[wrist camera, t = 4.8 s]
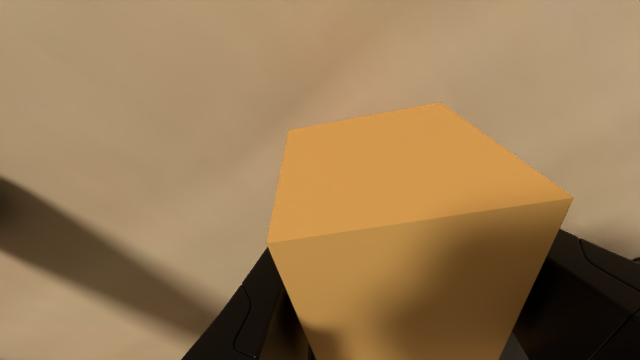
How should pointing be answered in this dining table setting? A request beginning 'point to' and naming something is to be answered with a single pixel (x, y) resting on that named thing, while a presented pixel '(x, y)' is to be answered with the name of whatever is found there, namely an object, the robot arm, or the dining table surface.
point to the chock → (409, 236)
